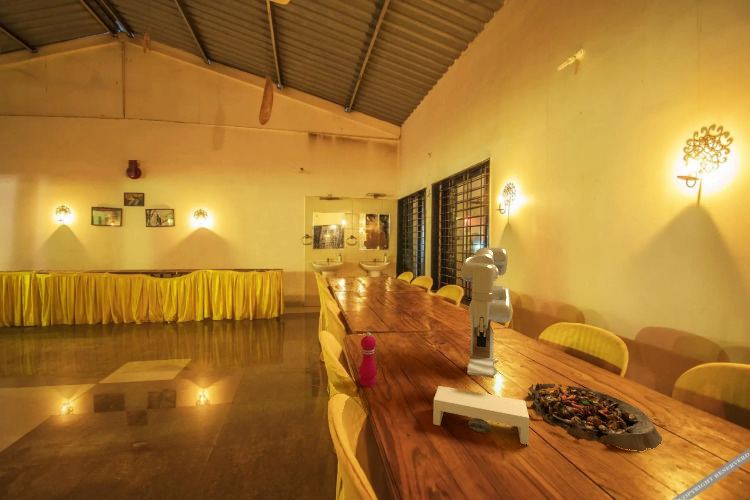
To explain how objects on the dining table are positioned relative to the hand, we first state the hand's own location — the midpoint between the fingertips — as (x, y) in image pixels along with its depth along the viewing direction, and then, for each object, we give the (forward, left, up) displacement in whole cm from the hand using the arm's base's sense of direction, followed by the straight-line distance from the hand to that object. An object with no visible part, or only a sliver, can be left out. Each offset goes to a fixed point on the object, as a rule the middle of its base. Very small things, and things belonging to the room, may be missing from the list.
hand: (481, 344), depth 115 cm
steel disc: (+21, +15, -18) cm, 31 cm away
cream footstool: (+20, +14, -17) cm, 30 cm away
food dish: (-14, +30, -18) cm, 38 cm away
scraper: (+7, +5, -5) cm, 10 cm away
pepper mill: (+33, -28, -17) cm, 47 cm away
